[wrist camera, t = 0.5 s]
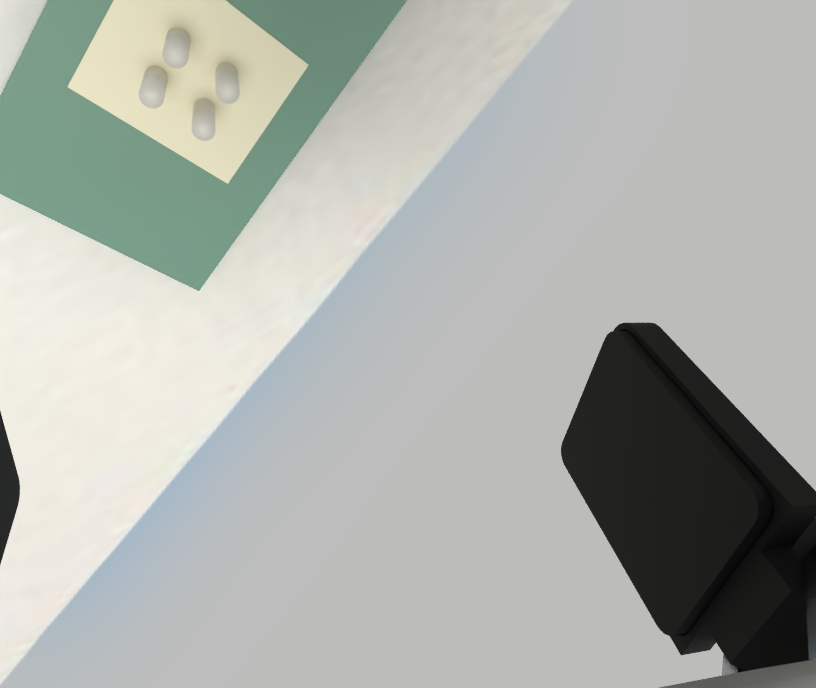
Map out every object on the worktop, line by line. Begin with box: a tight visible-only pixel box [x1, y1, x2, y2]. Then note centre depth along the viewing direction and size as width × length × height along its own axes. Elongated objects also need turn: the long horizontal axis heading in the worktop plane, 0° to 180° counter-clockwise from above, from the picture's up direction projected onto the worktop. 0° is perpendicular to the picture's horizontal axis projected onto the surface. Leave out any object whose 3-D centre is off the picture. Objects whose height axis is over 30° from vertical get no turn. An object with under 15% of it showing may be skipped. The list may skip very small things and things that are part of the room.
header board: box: [0, 0, 406, 291], centre depth 29 cm, size 20×12×4 cm, turn 140°
